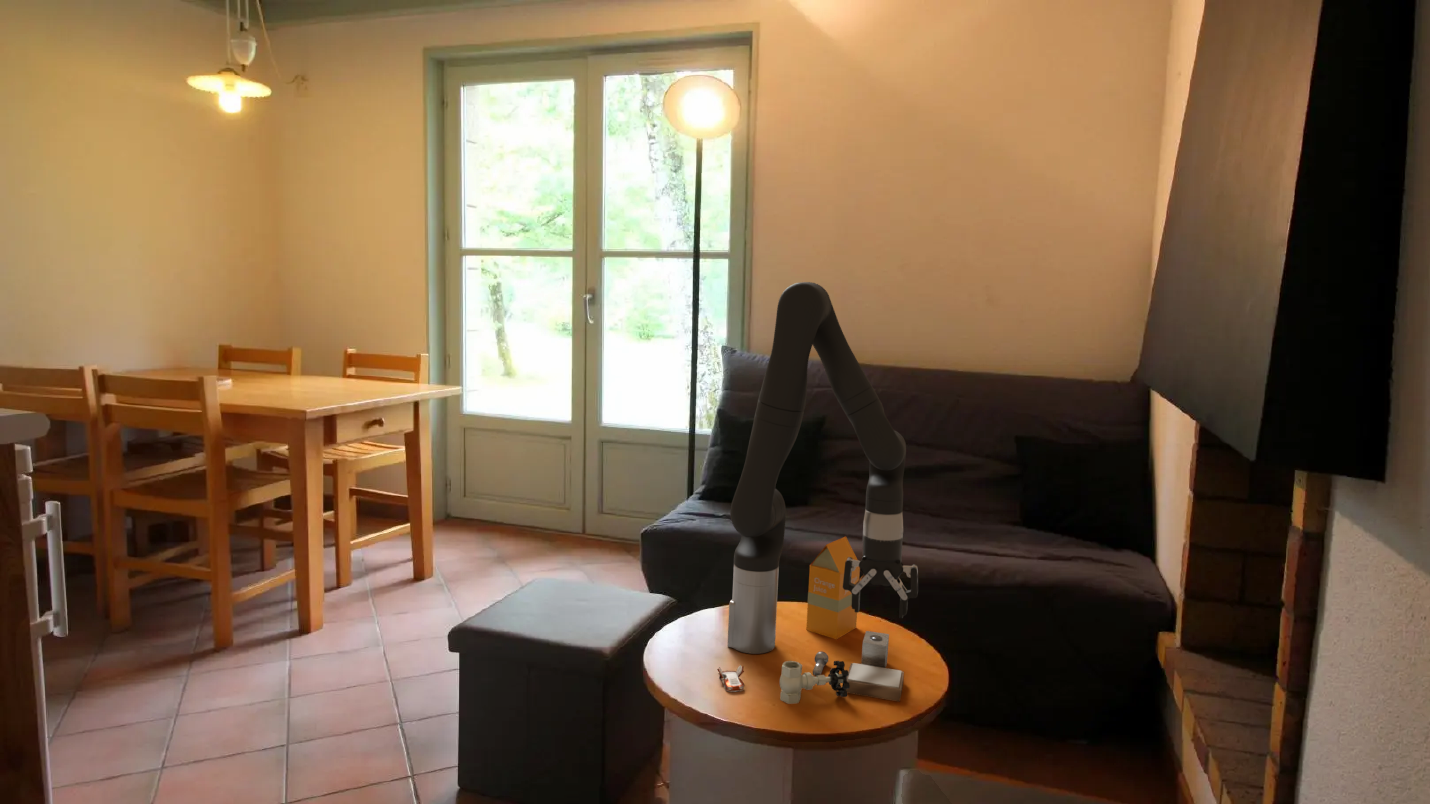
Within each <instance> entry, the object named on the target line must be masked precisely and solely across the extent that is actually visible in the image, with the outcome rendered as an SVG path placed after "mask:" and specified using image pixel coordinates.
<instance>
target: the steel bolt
mask: <svg viewBox="0 0 1430 804" xmlns="http://www.w3.org/2000/svg"><path fill="white" fill-rule="evenodd" d="M814 662H815V665H814V667H813V670H812V676H814V677H816V676H817V675H822V673H823V670H824V667H825V666H826V665H827V664H828V662H829V655H828V654H827V652H825V651H823V650H821V651H818V652H817V653H816V654H815V655H814Z"/></svg>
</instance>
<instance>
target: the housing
mask: <svg viewBox="0 0 1430 804" xmlns="http://www.w3.org/2000/svg"><path fill="white" fill-rule="evenodd" d="M889 639H890V634H889V633H883V632H877V631H870V630H865V633H864V637H863V640H862V647H861V648H862V649H861V660H860V661H861V663H860V664H863V665H869V666H875V667H882V668H887V664H888V653H889Z"/></svg>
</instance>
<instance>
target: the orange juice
mask: <svg viewBox="0 0 1430 804" xmlns="http://www.w3.org/2000/svg"><path fill="white" fill-rule="evenodd" d="M848 557H851V558H852V559H853V560H858V558H857V556H856V554H855V552H854V549H853V548H852V546H851V544H850V541H849V540H848V538H847V536H844V537H840V538H838V539H836V540H833V541H832V542H829V543H827V544H826V545H825V546H824V547H823V548H822V549H821V550H820V551H819V553H818V555H817V556H816V557H815V558H814V559H813V561H811V563H810V564H809V576H808V592H807V612H806V628H805V629H806V630H807V631H810V632H812V633H815V634H819V635H822V636H825V637H828V638H830V639H834V640H837V639H839V638H841V637H842V636H844V635H846V634H847V633H849V632H851V631H853V630H854V629H856V628H857V619H858V613H857V612H855V609H852V607H851V605H852V593H851V592H850V591H848V590H844V589H843V579H844V570H845V562H846V560H847V558H848ZM860 572H861V569H860V568H859V566H858V567H856V569H855V570H854V571H852V575H851V583H853V584H856V583H857V582H858V581H859V579H860Z"/></svg>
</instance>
